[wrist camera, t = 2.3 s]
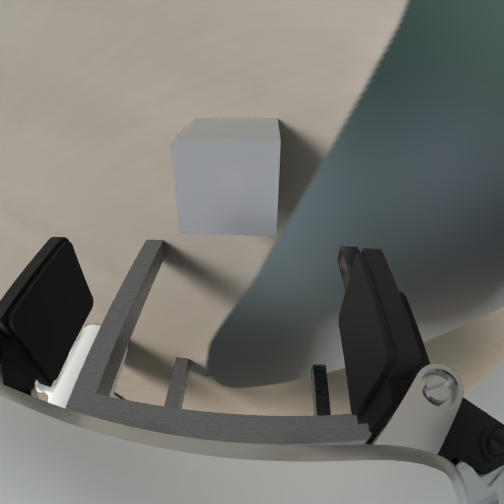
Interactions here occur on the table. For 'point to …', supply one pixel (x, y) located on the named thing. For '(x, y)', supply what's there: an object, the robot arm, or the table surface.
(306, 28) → the table surface
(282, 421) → the stand
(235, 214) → the grey cube
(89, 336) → the mug
